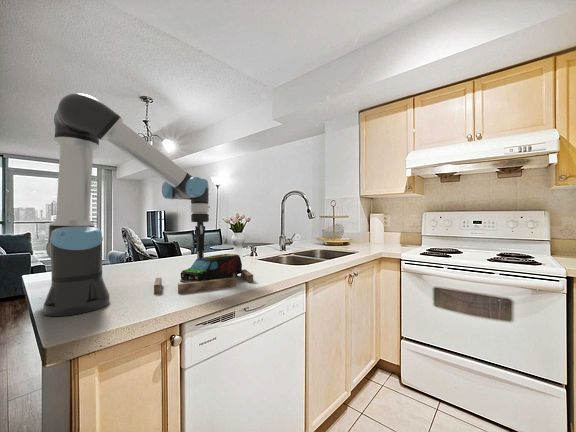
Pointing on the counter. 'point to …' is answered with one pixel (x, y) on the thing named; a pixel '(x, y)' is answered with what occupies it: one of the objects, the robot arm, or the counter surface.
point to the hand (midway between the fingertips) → (200, 265)
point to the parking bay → (205, 283)
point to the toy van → (213, 268)
